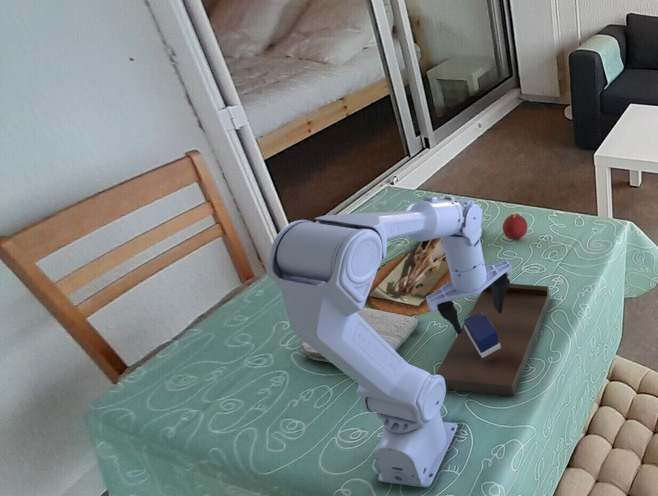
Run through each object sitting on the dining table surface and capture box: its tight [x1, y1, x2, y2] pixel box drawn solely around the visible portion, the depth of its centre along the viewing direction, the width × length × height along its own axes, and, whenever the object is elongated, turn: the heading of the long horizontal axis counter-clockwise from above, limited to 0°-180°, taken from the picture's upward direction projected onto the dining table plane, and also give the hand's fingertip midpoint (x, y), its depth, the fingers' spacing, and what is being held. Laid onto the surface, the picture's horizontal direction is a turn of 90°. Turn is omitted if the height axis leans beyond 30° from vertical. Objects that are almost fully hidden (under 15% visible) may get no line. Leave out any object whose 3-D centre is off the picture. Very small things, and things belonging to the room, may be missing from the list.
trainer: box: [463, 312, 501, 358], centre depth 92 cm, size 8×4×4 cm, turn 38°
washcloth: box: [300, 307, 419, 364], centre depth 95 cm, size 12×18×3 cm, turn 78°
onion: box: [502, 212, 528, 241], centre depth 121 cm, size 6×6×8 cm
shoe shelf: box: [434, 283, 551, 397], centre depth 94 cm, size 22×14×4 cm, turn 173°
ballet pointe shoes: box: [368, 227, 485, 306], centre depth 115 cm, size 14×7×28 cm
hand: (478, 319), depth 90 cm, fingers open, 7 cm apart
